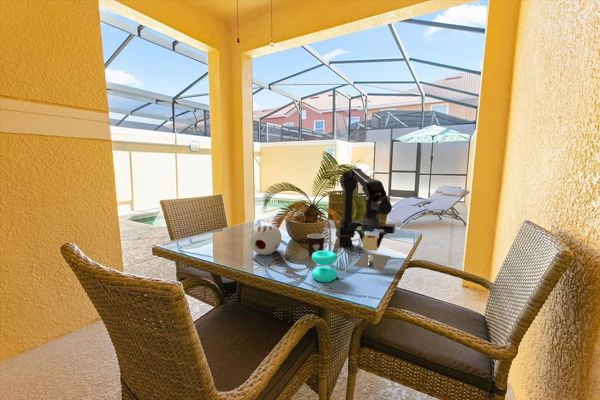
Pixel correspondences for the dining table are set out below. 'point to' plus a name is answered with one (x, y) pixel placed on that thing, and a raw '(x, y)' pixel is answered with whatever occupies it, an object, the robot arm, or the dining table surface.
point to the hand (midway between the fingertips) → (370, 246)
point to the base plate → (373, 261)
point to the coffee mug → (314, 243)
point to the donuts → (323, 272)
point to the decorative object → (265, 239)
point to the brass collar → (370, 242)
